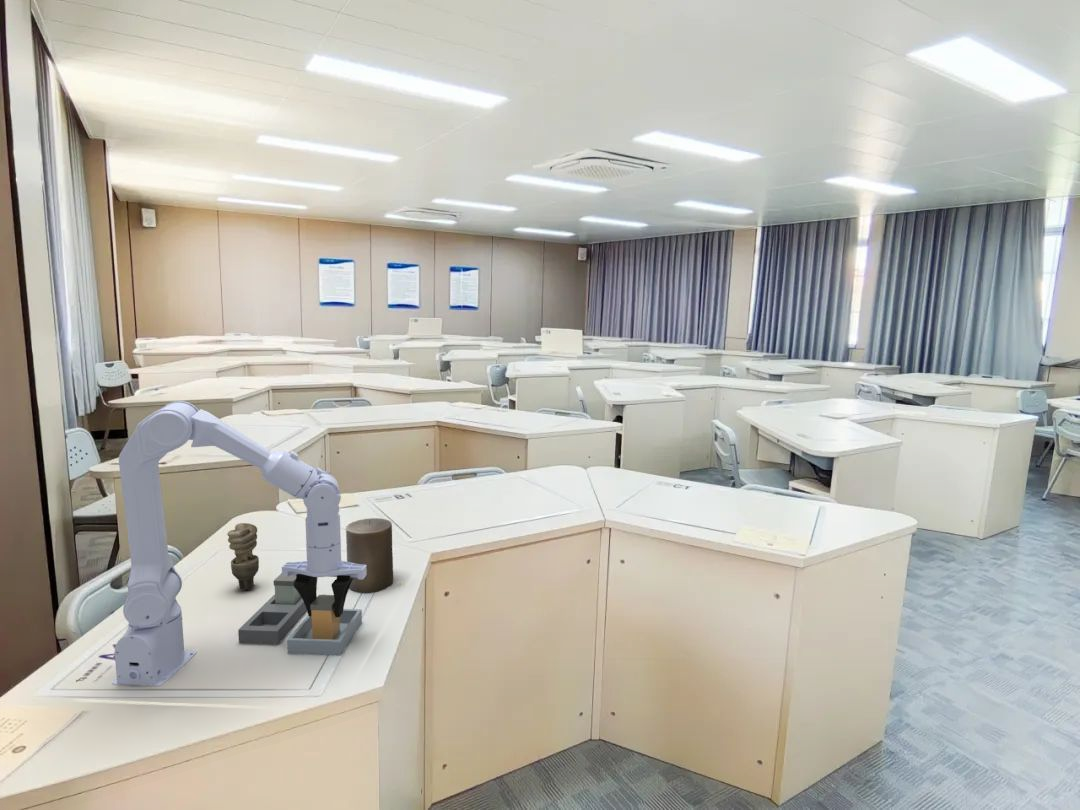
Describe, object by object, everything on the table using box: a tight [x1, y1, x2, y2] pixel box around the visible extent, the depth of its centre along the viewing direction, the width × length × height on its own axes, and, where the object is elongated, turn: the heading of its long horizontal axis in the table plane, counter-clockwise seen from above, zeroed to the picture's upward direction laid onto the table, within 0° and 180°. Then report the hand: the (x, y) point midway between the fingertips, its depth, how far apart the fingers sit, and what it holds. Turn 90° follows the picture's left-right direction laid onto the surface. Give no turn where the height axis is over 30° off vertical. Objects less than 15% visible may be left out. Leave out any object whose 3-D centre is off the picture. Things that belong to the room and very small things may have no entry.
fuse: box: [273, 572, 302, 605], centre depth 114 cm, size 4×4×7 cm
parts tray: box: [286, 608, 363, 656], centre depth 105 cm, size 11×9×3 cm
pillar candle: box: [345, 517, 394, 594], centre depth 126 cm, size 10×10×15 cm
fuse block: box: [237, 593, 307, 645], centre depth 110 cm, size 16×7×3 cm, turn 179°
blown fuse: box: [310, 594, 340, 640], centre depth 105 cm, size 4×4×7 cm
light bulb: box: [226, 522, 260, 592], centre depth 122 cm, size 6×6×15 cm
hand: (325, 614), depth 105 cm, fingers open, 4 cm apart
